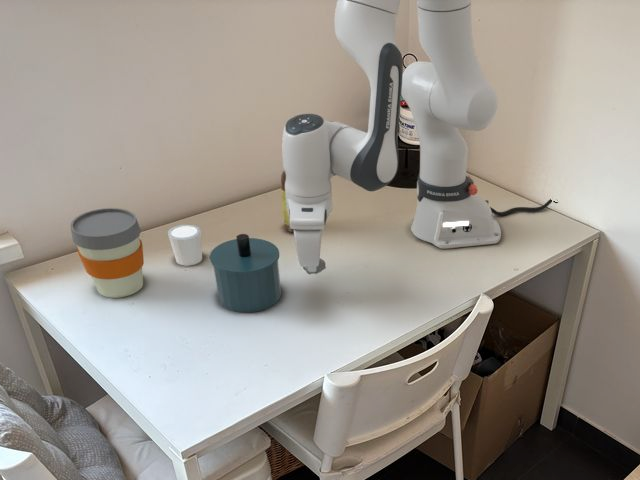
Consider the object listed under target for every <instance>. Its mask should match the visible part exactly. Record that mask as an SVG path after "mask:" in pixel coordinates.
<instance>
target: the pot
mask: <svg viewBox="0 0 640 480" xmlns="http://www.w3.org/2000/svg"><path fill="white" fill-rule="evenodd" d="M213 273H214V276H215V284H216V290H217V297H218V300H219V303H220V304H221V305H222V306H223V307H224V308H225V309H227V310H230V311H232V312H236V313H246V314H247V313H256V312H261V311H265V310H267V309H269V308H271V307H274V306H275V305H276V304H277V303H278V302H279V300H280V299H281V296H282V291H281V290H282V288H281V278H280V277H281V276H280V268H279V260H278V261H277V262H276V263H275V264H274V265H273V266H271V267H269V268H267V269H265V270H263V271H259V272H255V273H249V274H232V273H227V272H223V271H221V270H219V269H217V268H215V267H214V266H213Z"/></svg>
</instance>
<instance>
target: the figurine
mask: <svg viewBox="0 0 640 480" xmlns="http://www.w3.org/2000/svg"><path fill="white" fill-rule="evenodd" d="M326 265H327V264H326V261H325V260H324V259H322V258H321V257H320V260H319V265H318V266H317V269H316V271H315V272H309V271H308V270H307V267H302V269H303V270H304V271H305V272H306V274H308V275H312V274H313V275H317V274H319V273H321V272H323V271H324V270H326V269H327V266H326Z"/></svg>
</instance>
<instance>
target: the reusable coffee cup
mask: <svg viewBox="0 0 640 480" xmlns="http://www.w3.org/2000/svg"><path fill="white" fill-rule="evenodd" d="M69 226H70V232H71V238H72V239H71V240H72V242H73V243H74V244H75V245H76V247H77V254H78V257H79V258H80V261H81V262H82V265H83V267H84V269H85V271H86V273H87V274H88V275H89V276H90V277H91V279H92V281H93V283H94V286H95V288H96V290H97V292H98V294H99V295H101V296H103V297H105V298H112V299H114V298H115V299H116V298H117V299H119V298H125V297H129V296H132V295H134V294H136V293H137V292H139V291H140V290H141V289H142V288H143V286H144V276H143V266H144V263H145V261H144V249H143V248H144V247H143V242H142V240H141V238H140V234H141V227H140V224H139V221H138V218H137V216H136V214H135V213H134V212H132V211H130V210H128V209H124V208H119V207H118V208H117V207H104V208H97V209H93V210H89V211H86V212H84V213H81V214H79V215H78V216H76V217H75V218H73V220H72V221H70V225H69Z"/></svg>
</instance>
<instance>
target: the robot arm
mask: <svg viewBox="0 0 640 480" xmlns="http://www.w3.org/2000/svg"><path fill="white" fill-rule="evenodd" d="M400 2H401V0H336V4H335V10H334V17H333V18H334V20H333V22H334V23H333V27H334V28H333V29H334V34H335V38H336V39H337V41H338V43H339V45H340V46H341V48H342V49H343V51H344V52H345V53H346V54H347V55H348V57H350V58H351V59H352V60H353V61H354V62H355V63H356V64H358V66H359V67H360V69H362V71H363V72H364V73H365V75H366V77H367V80H368V82H369V87H370V97H369V98H370V99H369V113H368V126H367V132H365V131H363V130H360V129H358V128H355V127H353V126H351V125H348V124H345V123H342V122H340V121H333V120H326V119H324V118H323V117H322V116H321V115H319V114H316V113H302V114H297V115H294V116H293V117H291V118H289V119H288V120H287V121H286V122H285V124H284V127H283V130H282V137H281V158H282V168H283V172H284V171H285V173H286V182H285V196H286V208H287V212H288V214H289V221H290V228H291V229H294V232H293V236H294V242H295V249H296V250H295V251H296V255H297V260H298V264H299V266H300V267H301V268H303V267H307V270H308V271H309V272H315V271H316V269H317V266H318V265H319V260H320V258H321V247H322V246H321V245H322V236H323V230H325V228H326V223H327V220H328V218H329V216H330V214H331V213H332V211H333V193H332V192H333V191H332V182H331V178H333V177H335V176H338V177H340V178H342V179H345V180H347V181H350V182H352V183H353V184H355V185H357V186H358V187H359V188H362V189H363V190H365V191H367V192H376V191H379V190H381V189H383V188H385V187H386V186H388V185H389V184H391V182H393V180H394V179H395V177H396V175H397V173H398V170H399V164H400V163H399V157H400V156H399V145H398V144H399V143H398V140H399V139H398V138H399V137H398V136H399V126H400V114H401V101H402V99H403V100H404V101H405V103H406V105H407V107H408V108H409V110H410V113H411V115H412V118H413V121H414V124H415V127H416V132H417V136H418V141H419V173H418V175H417V181H416V198H417V202H416V209H415V213H414V218H413V221H412V223H411V226H410V231H411V233H412V234H413V235H414V236H415V237H416V238H417V239H420V240H421V241H424V242H426V243H430V244H432V245H434V246H435V247H437V248H438V249H442V250H443V249H444V250H445V249H454V248H455V249H456V248H466V247H473V246H474V247H476V246H486V245H494V244H495V245H496V244H498V243H499V242H500V240H501V239H502V229H501V225H500V224H499V222H498V221H497V219H495V218H494V215H495V216H499V217H504V216H508V215H510V214H511V213H514V212H539V211H542V210H544V209H546V208H547V207H548V206H550V205H551V204H552V203H554V204H559V201H558V202H555V201H553V202H552V200H551V198H550V199H549V200H547V201H546V202H545V203H544V204H543V205H541V206H536V207H530V206H529V207H528V206H526V207H525V206H516V207H512V208H509V209H506V210H505V211H497V210H495V208H493V207H491V206H490V204H489V200H488V199H487V200H486V199H484V198H482V197H481V196H480V195H479V194H478V191H479V190H478V187H477V185H476V184H475V182H474V180H473V179H472V177H471V176H470V174H468V175H467V170H468V169H467V167H468V156H469V148H468V143H467V142H466V140H465V138H464V137H463V135H462V133H461V132H460V129H461V130H466V131H473V132H480V131H482V130H485V129H486V128H488V126H490V124H491V123H492V122H493V121H494V119H495V118H496V115H497V112H498V106H499V105H498V103H499V101H498V95H497V93H496V91H495V89H494V88H493V87H492V86H491V85H490V83H489V81H488V80H487V78H486V76H485V75H484V72H483V70H482V67H481V65H480V62H479V59H478V56H477V53H476V49H475V46H474V38H473V23H472V22H473V21H472V0H416V12H417V23H418V24H417V27H418V39H419V41H418V42H419V44H420V47H421V48H422V50H423V52H424V53H425V54H426V55H427V57H428V58H429V60H430V61H421V60H420V61H414V62H411V63H410V64H409V65H408V66H407V67H406V68H405V69H404V63H403V56H402V53H401V51H400V50H399V48H398V43H397V36H396V33H397V32H396V29H397V28H396V26H397V19H398V13H399V9H400Z"/></svg>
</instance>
